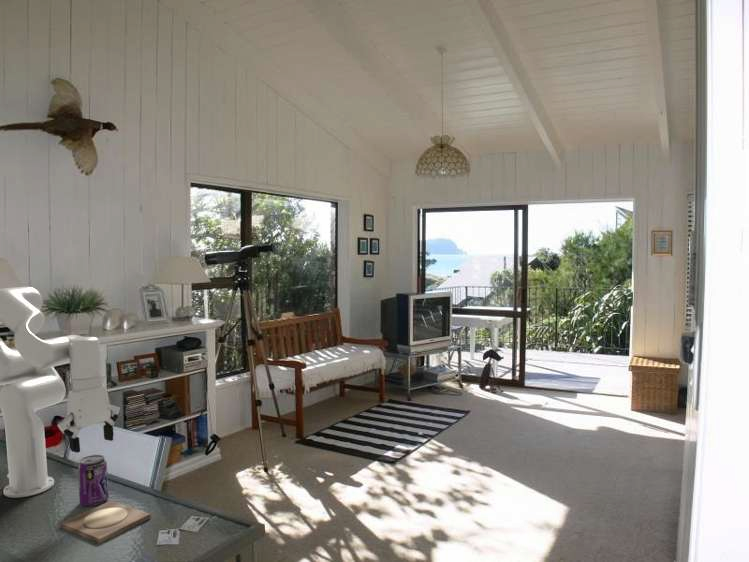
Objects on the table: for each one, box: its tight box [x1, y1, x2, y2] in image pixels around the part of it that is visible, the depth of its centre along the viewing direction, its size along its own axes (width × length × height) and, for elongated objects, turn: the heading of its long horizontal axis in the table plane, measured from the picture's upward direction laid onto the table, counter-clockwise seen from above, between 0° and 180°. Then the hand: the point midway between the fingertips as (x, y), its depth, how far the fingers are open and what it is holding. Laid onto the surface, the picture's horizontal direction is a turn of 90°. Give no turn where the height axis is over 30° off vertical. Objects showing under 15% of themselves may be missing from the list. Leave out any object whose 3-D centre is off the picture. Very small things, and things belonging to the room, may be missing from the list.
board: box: [60, 500, 152, 545], centre depth 147 cm, size 16×14×2 cm
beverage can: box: [77, 454, 110, 507], centre depth 159 cm, size 7×7×12 cm
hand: (92, 445), depth 158 cm, fingers open, 9 cm apart
